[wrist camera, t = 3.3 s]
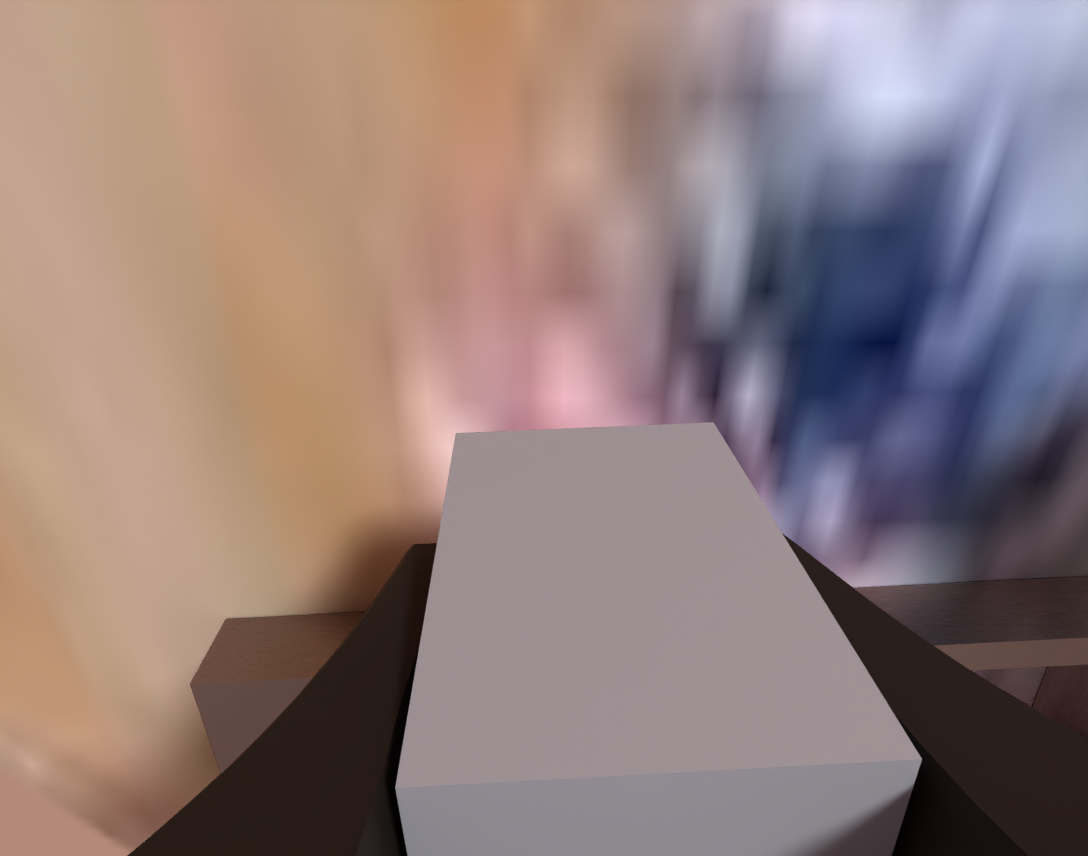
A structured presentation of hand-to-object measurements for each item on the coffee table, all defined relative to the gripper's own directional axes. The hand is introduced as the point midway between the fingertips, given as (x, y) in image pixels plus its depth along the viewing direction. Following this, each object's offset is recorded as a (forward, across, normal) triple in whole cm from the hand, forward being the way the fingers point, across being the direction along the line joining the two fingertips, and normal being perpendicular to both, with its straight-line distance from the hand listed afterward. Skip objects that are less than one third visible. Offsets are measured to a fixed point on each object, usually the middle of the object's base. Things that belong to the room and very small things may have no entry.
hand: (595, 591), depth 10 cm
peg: (+2, 0, 0) cm, 2 cm away
